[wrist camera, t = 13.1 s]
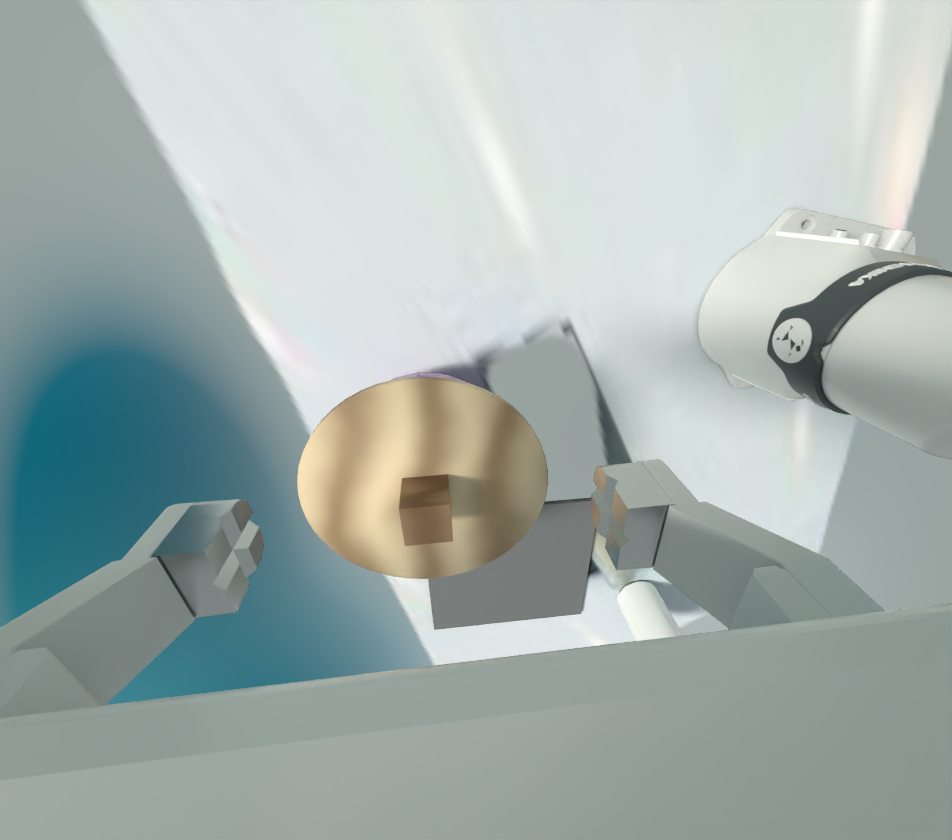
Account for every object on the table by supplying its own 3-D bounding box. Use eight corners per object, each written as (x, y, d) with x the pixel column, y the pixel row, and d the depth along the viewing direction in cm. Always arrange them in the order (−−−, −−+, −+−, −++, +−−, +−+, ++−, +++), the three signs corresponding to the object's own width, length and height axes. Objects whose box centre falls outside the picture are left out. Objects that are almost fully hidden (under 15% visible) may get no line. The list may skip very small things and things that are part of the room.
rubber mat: (598, 497, 54) (599, 500, 54) (579, 610, 66) (581, 613, 66) (420, 512, 53) (420, 515, 52) (434, 626, 64) (434, 629, 64)
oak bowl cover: (552, 367, 32) (571, 392, 28) (540, 560, 43) (552, 600, 38) (268, 387, 30) (242, 417, 26) (329, 582, 41) (318, 626, 37)
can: (658, 596, 66) (701, 670, 56) (622, 610, 67) (657, 686, 57) (649, 573, 63) (693, 647, 53) (611, 588, 64) (646, 664, 54)
